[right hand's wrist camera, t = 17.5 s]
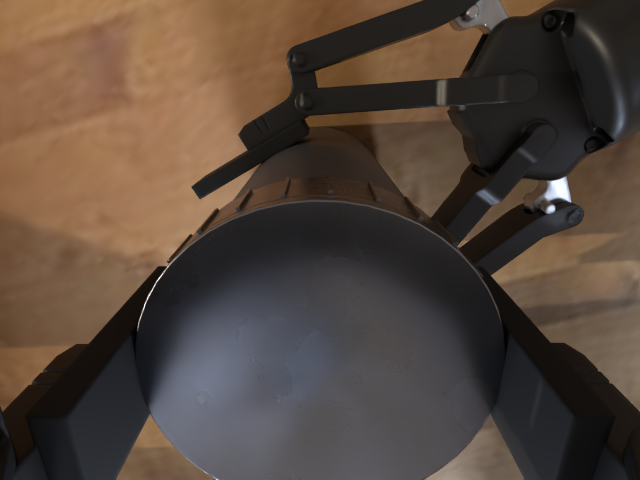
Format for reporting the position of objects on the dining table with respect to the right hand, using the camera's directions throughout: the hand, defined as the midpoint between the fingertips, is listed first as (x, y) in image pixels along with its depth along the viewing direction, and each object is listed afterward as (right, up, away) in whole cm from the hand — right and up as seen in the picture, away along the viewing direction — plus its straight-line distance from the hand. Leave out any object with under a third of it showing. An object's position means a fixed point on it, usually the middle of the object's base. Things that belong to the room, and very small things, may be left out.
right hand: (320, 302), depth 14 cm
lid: (0, -1, -3) cm, 3 cm away
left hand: (-4, +1, +10) cm, 10 cm away
